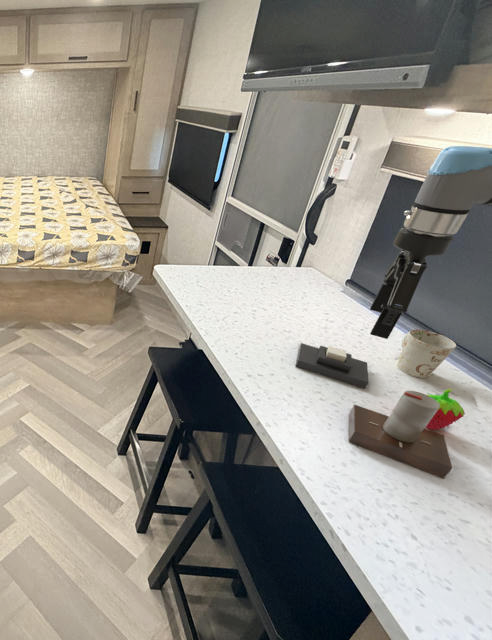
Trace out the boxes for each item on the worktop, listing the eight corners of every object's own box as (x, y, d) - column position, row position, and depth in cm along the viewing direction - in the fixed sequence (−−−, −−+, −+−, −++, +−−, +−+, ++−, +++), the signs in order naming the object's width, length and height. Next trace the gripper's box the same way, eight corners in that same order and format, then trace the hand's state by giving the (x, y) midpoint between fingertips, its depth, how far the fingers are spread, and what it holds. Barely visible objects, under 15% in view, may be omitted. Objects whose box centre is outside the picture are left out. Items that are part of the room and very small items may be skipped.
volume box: (435, 445, 81) (444, 434, 80) (443, 478, 74) (453, 467, 73) (348, 414, 89) (354, 403, 87) (348, 441, 82) (354, 430, 81)
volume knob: (414, 431, 80) (438, 396, 76) (417, 447, 77) (443, 411, 73) (382, 420, 83) (403, 385, 79) (383, 434, 80) (405, 399, 75)
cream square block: (343, 356, 102) (346, 350, 101) (343, 362, 100) (346, 357, 99) (326, 351, 104) (328, 345, 103) (325, 357, 102) (328, 352, 101)
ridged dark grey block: (363, 369, 103) (370, 356, 101) (364, 389, 96) (371, 376, 94) (298, 349, 111) (303, 337, 109) (295, 366, 104) (300, 354, 102)
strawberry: (397, 412, 89) (419, 377, 85) (440, 421, 87) (465, 385, 82) (410, 430, 85) (434, 394, 80) (455, 440, 82) (483, 404, 77)
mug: (401, 377, 100) (421, 344, 95) (375, 349, 111) (392, 319, 106) (443, 383, 98) (465, 350, 93) (412, 354, 108) (431, 323, 104)
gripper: (398, 213, 88) (357, 297, 98) (405, 243, 71) (355, 341, 81) (446, 219, 84) (398, 306, 94) (465, 253, 67) (404, 355, 77)
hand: (378, 323), depth 87 cm, fingers open, 13 cm apart
